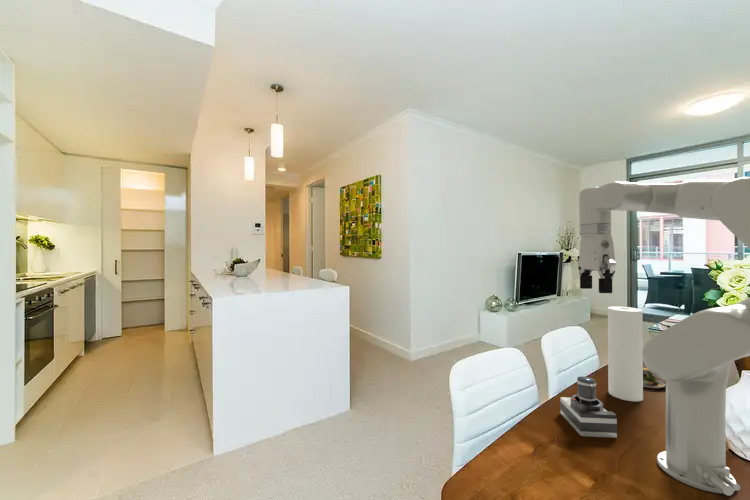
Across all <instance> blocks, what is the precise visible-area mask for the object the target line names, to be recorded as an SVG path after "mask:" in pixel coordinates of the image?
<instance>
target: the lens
mask: <svg viewBox="0 0 750 500" xmlns="http://www.w3.org/2000/svg"><path fill="white" fill-rule="evenodd" d="M576 384H577V394H576V395H577V397H578V402H580V403H583V404H586V405H596V398H597V380H595V379H594V378H592V377H589V376H577V378H576Z"/></svg>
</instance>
